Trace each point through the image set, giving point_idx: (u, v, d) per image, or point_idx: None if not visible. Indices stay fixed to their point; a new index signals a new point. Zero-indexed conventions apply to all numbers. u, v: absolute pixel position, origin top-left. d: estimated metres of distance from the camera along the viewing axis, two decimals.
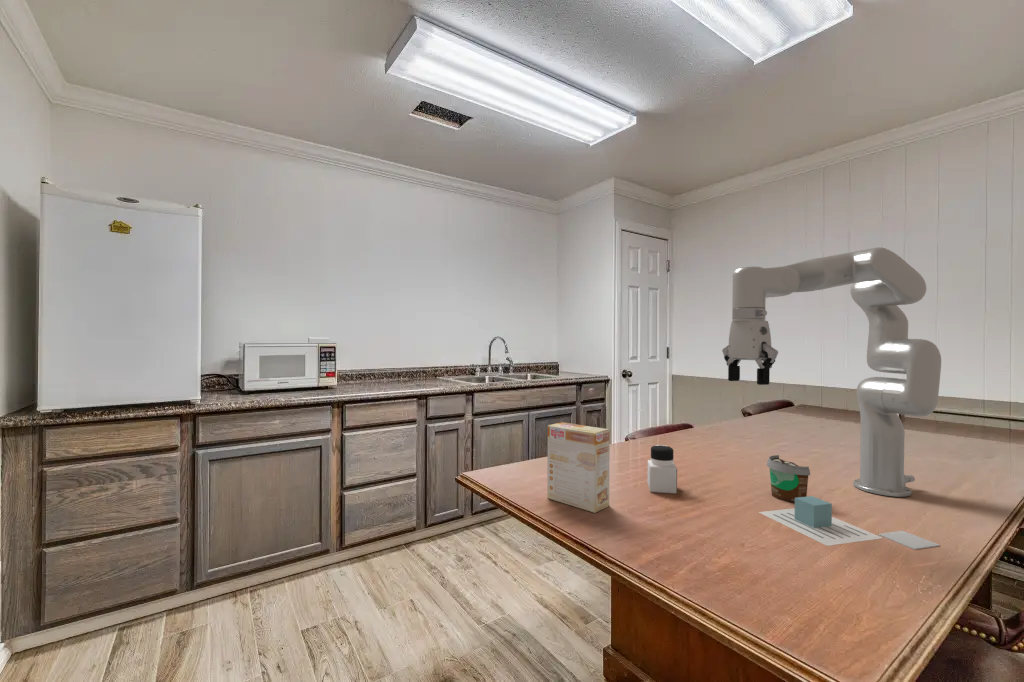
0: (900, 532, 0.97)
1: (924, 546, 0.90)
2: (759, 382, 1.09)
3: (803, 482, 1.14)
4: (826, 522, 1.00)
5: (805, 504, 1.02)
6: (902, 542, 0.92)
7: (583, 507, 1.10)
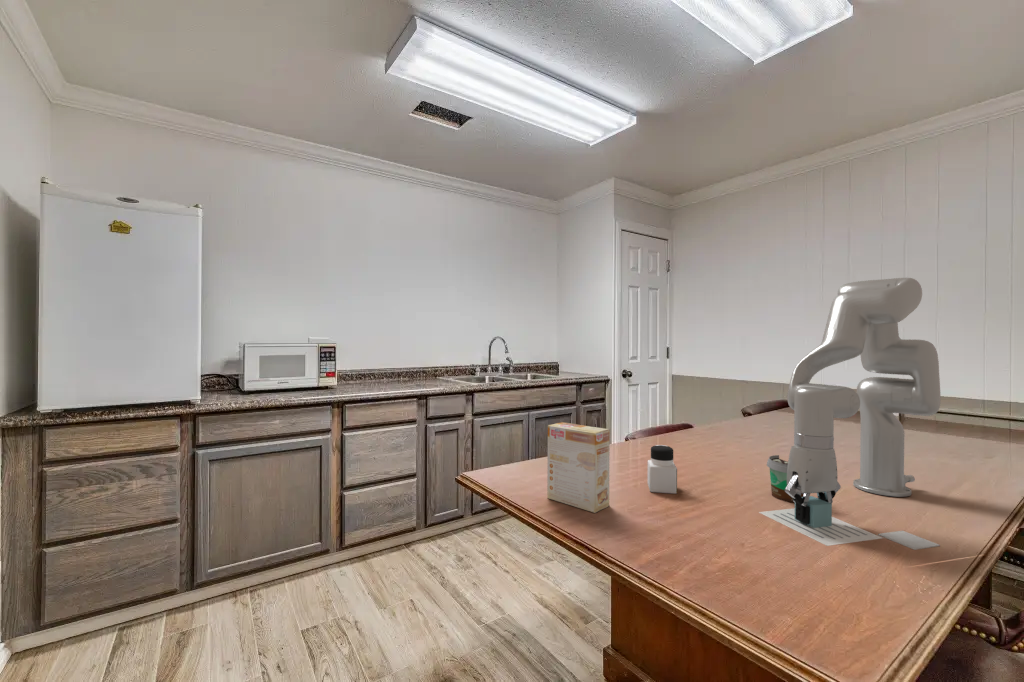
0: (900, 532, 0.97)
1: (924, 546, 0.90)
2: None
3: None
4: (826, 522, 1.00)
5: None
6: (902, 542, 0.92)
7: (583, 507, 1.10)
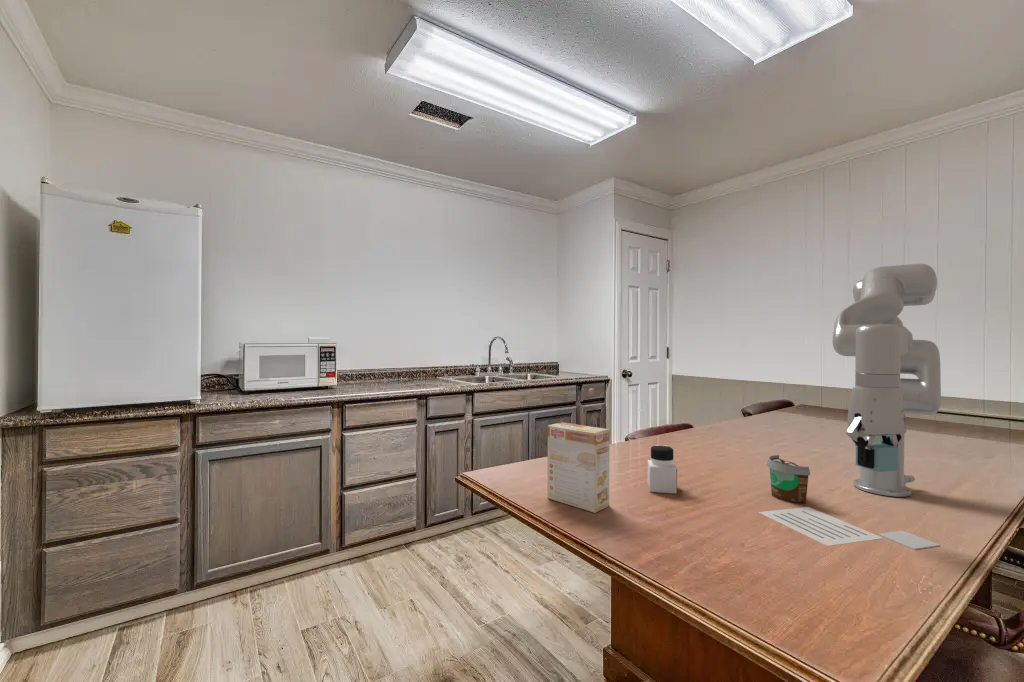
0: (900, 532, 0.97)
1: (924, 546, 0.90)
2: None
3: (803, 482, 1.14)
4: (892, 466, 0.94)
5: None
6: (902, 542, 0.92)
7: (583, 507, 1.10)
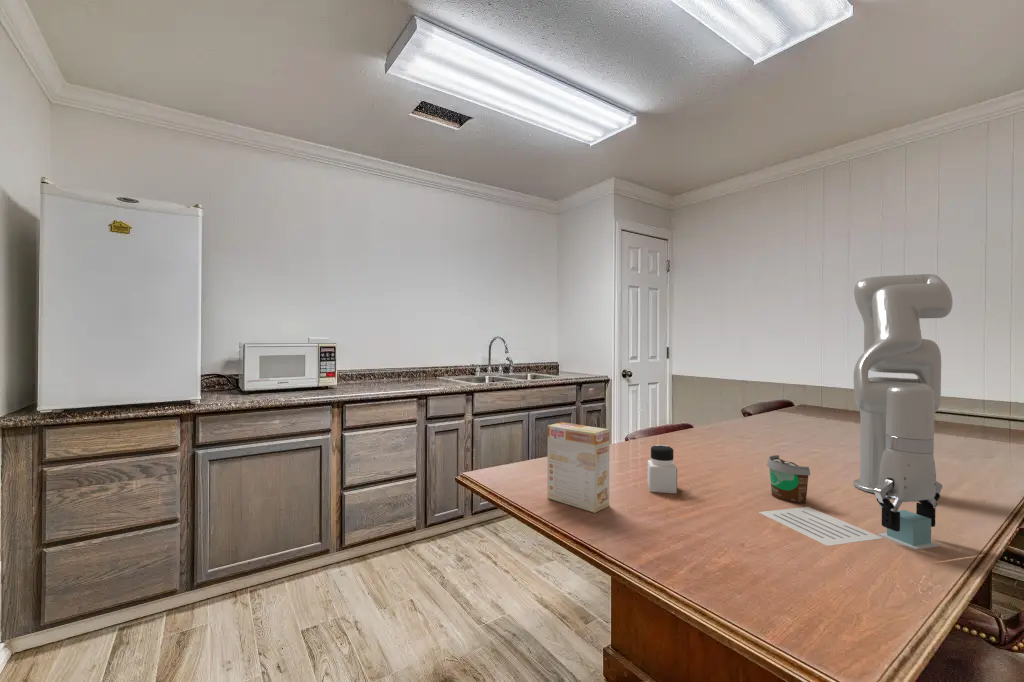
0: None
1: (924, 546, 0.90)
2: None
3: (803, 482, 1.14)
4: (925, 539, 0.92)
5: (901, 519, 0.93)
6: (902, 542, 0.92)
7: (583, 507, 1.10)
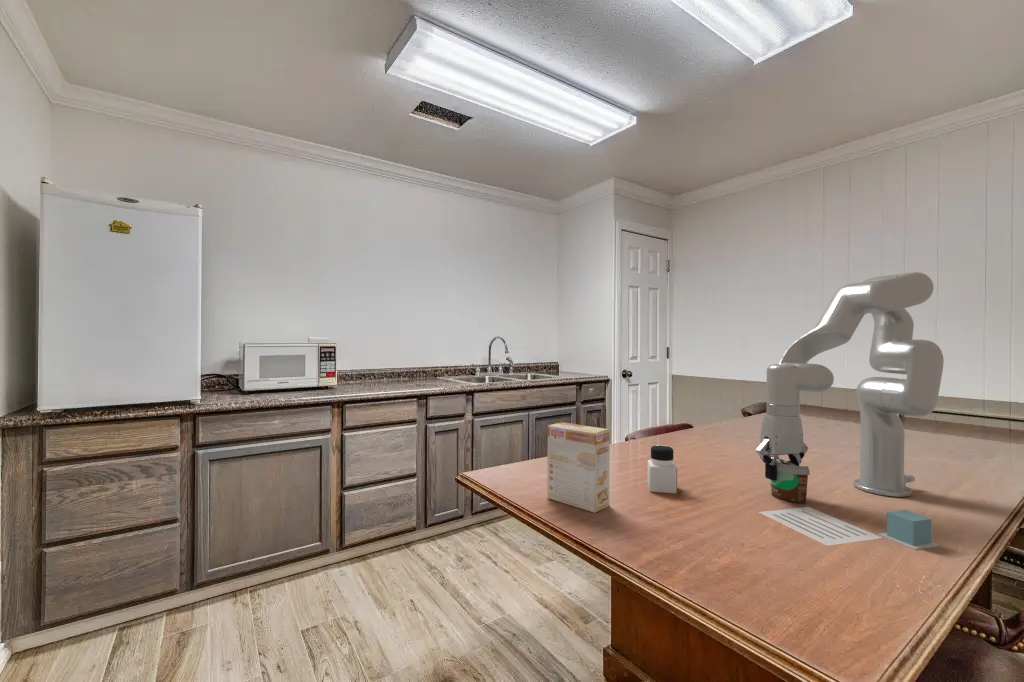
0: None
1: (924, 546, 0.90)
2: None
3: (803, 481, 1.14)
4: (925, 539, 0.92)
5: (901, 519, 0.93)
6: (902, 542, 0.92)
7: (583, 507, 1.10)
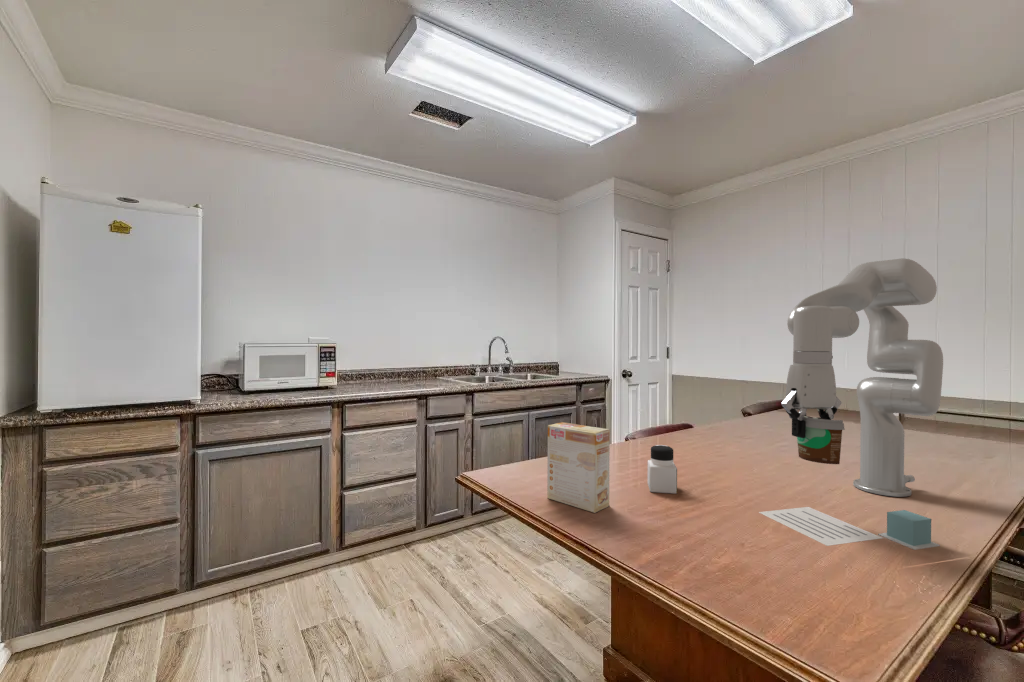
0: None
1: (924, 546, 0.90)
2: None
3: (837, 438, 0.99)
4: (925, 539, 0.92)
5: (901, 519, 0.93)
6: (902, 542, 0.92)
7: (583, 507, 1.10)
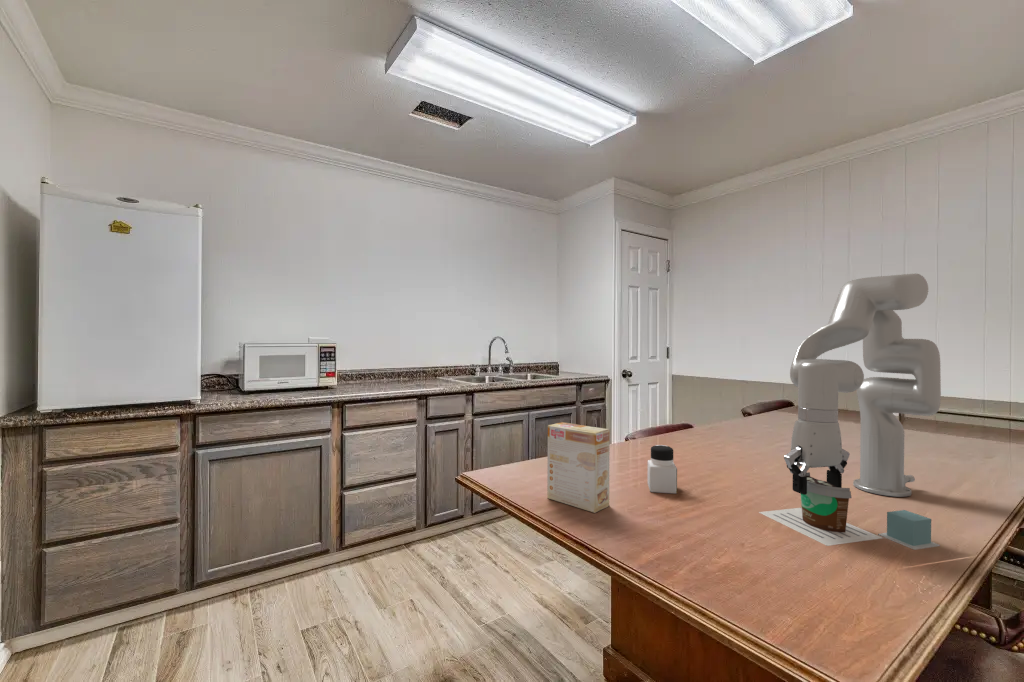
0: None
1: (924, 546, 0.90)
2: None
3: (843, 506, 0.97)
4: (925, 539, 0.92)
5: (901, 519, 0.93)
6: (902, 542, 0.92)
7: (583, 507, 1.10)
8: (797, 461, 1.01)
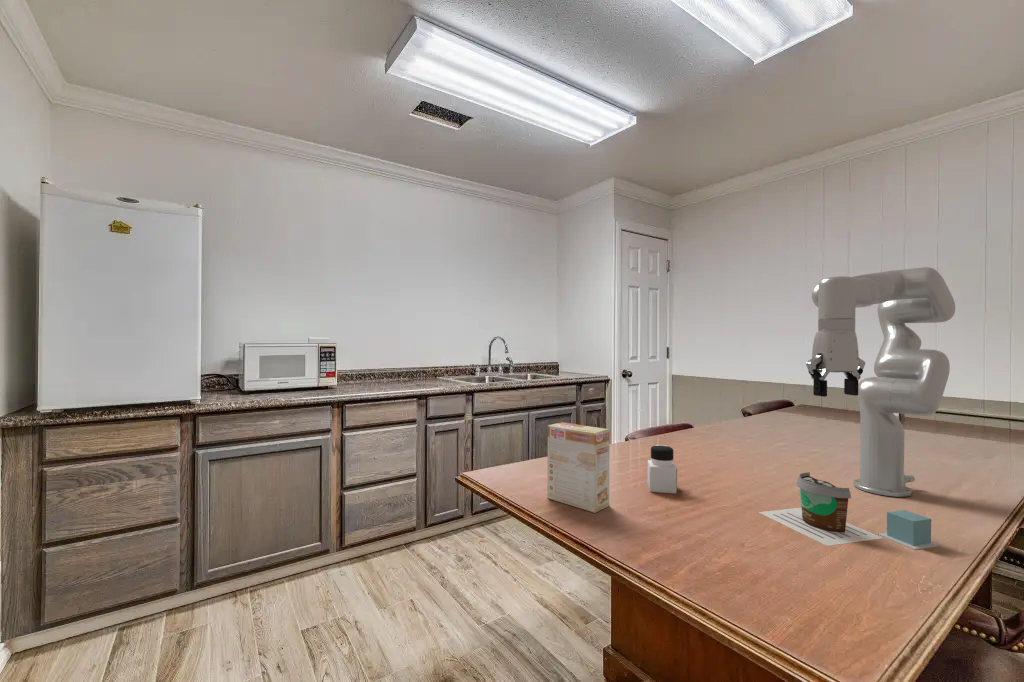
0: None
1: (924, 546, 0.90)
2: None
3: (843, 506, 0.97)
4: (925, 539, 0.92)
5: (901, 519, 0.93)
6: (902, 542, 0.92)
7: (583, 507, 1.10)
8: (818, 368, 1.11)
